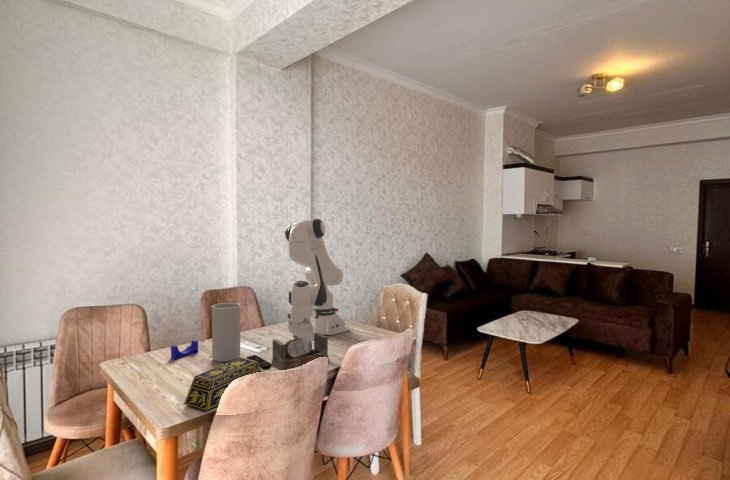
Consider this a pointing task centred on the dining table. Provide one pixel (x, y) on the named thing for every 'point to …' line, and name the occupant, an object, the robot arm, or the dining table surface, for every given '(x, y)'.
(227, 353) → the cylinder vase
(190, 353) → the cable clip
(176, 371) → the dining table surface
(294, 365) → the holder
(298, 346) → the tin
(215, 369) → the decorative box
